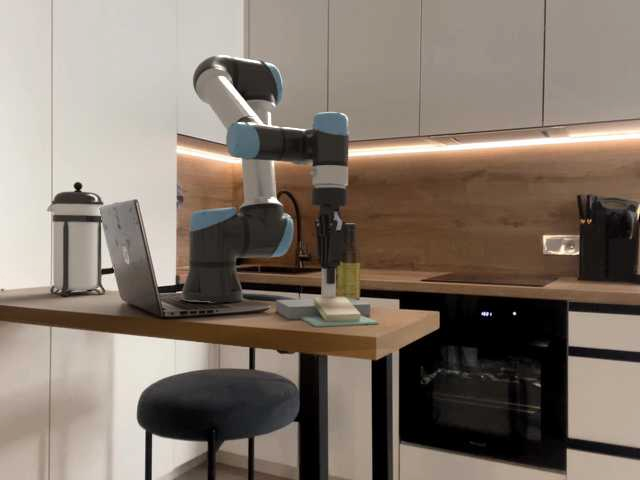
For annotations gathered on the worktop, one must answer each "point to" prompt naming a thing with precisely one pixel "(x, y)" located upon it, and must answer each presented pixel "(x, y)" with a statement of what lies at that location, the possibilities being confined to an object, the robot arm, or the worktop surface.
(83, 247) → the coffee press
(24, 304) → the worktop surface
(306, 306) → the grey slab
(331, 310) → the cream notepad
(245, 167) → the robot arm
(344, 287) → the sauce bottle
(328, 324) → the mat
